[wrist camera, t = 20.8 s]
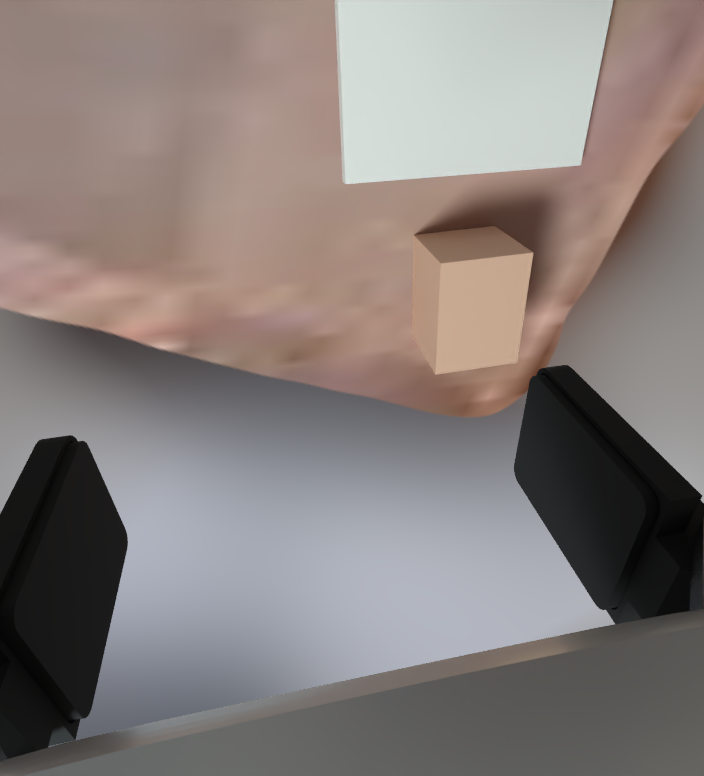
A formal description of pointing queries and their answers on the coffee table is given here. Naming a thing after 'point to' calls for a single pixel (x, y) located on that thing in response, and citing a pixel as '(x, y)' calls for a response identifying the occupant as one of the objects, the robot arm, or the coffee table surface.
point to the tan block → (469, 297)
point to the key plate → (465, 85)
